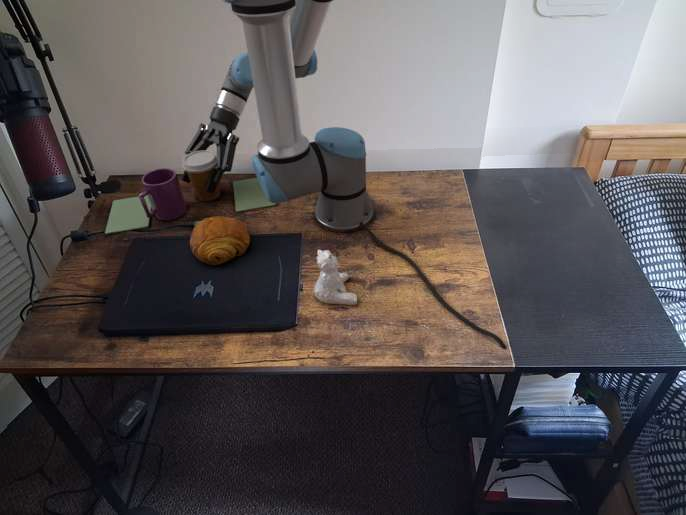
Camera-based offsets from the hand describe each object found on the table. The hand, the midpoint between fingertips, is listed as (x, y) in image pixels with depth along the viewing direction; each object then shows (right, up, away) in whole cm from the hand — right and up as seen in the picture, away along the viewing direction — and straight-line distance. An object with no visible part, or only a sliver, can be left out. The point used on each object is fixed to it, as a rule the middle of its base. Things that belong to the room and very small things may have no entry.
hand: (196, 187), depth 127 cm
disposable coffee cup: (+2, -2, +5) cm, 6 cm away
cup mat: (+15, -1, +4) cm, 16 cm away
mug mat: (-18, -8, -1) cm, 20 cm away
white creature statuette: (+39, -28, -28) cm, 55 cm away
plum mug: (-8, -8, -1) cm, 11 cm away
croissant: (+11, -17, -13) cm, 24 cm away
